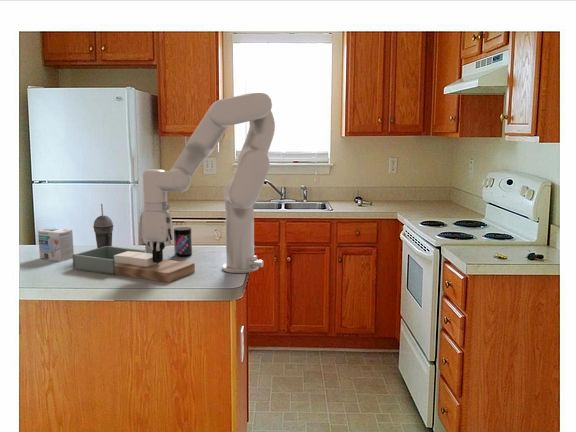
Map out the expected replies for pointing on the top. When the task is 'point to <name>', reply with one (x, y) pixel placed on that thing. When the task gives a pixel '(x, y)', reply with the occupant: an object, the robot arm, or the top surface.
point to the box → (99, 259)
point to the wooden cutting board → (157, 270)
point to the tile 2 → (142, 260)
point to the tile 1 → (125, 257)
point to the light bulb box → (56, 244)
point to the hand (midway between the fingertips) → (157, 261)
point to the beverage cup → (103, 230)
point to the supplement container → (182, 241)
